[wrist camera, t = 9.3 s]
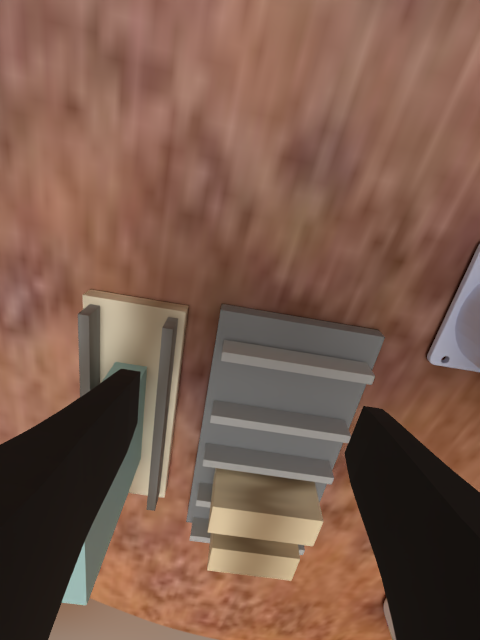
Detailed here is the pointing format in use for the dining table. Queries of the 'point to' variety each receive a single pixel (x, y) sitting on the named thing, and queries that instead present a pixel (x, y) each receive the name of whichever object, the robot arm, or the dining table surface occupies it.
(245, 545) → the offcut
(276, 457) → the rack
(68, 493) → the robot arm
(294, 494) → the block
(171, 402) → the holder
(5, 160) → the dining table surface
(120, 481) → the teal rectangular block
